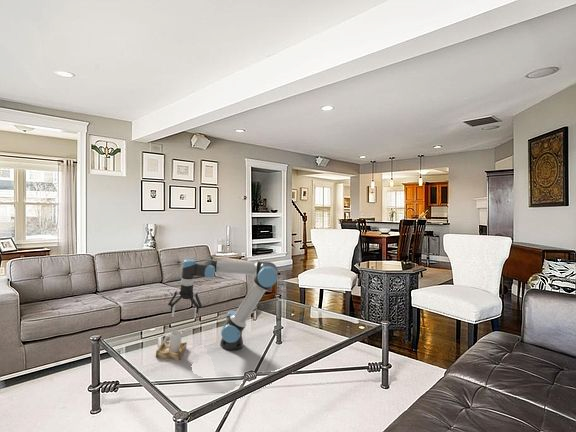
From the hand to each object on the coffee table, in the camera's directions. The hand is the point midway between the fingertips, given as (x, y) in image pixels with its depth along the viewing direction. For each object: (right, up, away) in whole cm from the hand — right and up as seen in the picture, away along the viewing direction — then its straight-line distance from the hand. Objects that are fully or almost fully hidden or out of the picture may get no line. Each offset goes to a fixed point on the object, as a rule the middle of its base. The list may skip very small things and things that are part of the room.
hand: (184, 317), depth 217 cm
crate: (-6, -20, -5) cm, 22 cm away
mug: (-6, -20, -5) cm, 21 cm away
